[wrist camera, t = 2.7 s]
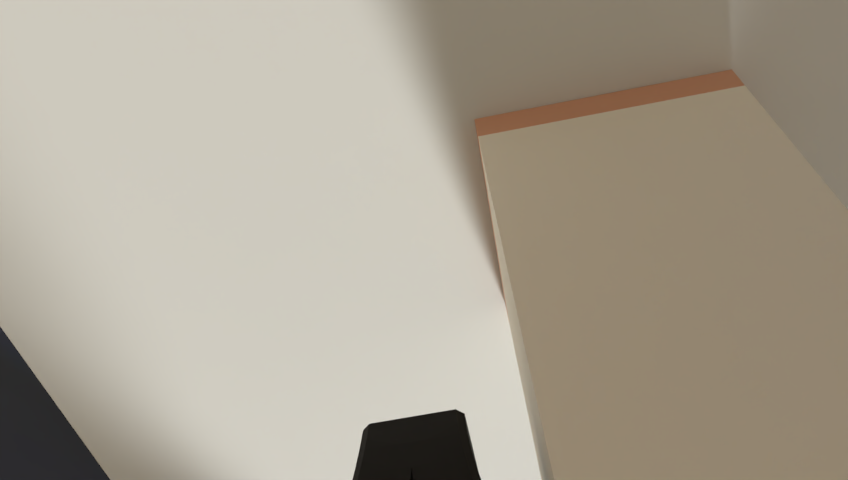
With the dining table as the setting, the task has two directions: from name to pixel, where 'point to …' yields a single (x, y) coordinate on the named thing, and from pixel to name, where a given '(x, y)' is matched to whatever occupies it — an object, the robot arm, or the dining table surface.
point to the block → (671, 286)
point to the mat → (317, 205)
